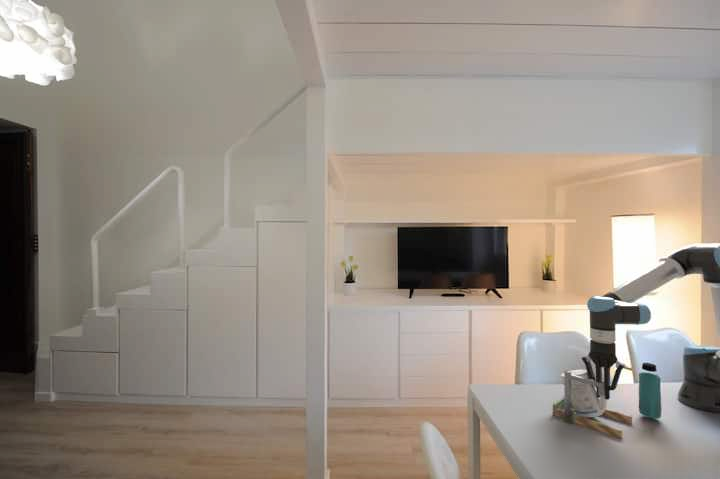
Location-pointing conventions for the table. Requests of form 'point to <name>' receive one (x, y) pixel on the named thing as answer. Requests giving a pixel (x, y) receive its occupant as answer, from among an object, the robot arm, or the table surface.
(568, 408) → the hook post
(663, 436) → the table surface
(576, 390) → the supplement tub
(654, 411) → the beverage bottle
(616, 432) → the bay board
